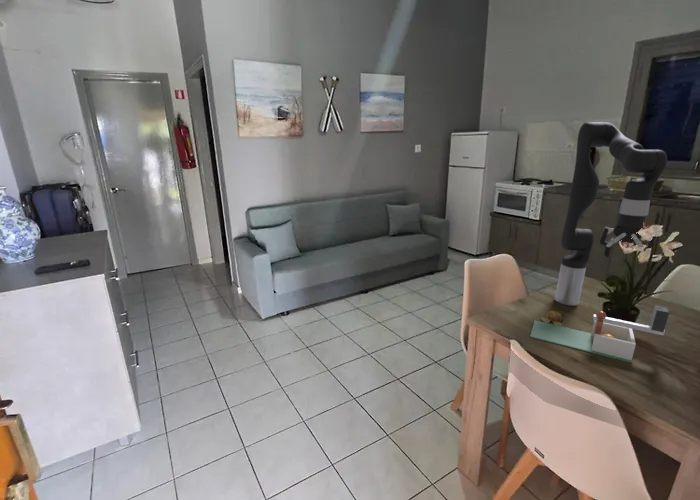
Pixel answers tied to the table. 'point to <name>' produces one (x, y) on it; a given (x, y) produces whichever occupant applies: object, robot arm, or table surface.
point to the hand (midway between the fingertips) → (622, 259)
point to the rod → (655, 327)
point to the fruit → (553, 317)
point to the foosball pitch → (590, 339)
